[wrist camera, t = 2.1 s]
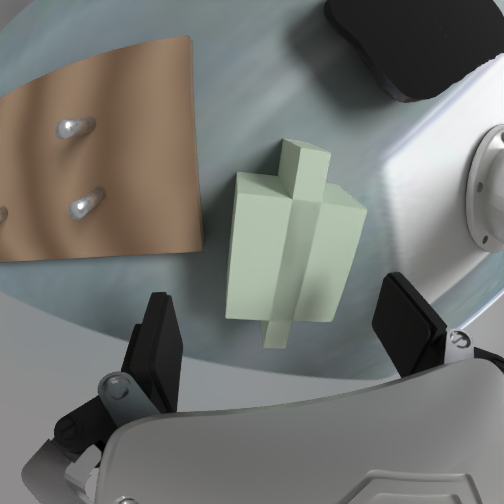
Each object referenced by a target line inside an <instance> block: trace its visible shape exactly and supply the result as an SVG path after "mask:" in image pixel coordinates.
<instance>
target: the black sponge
mask: <svg viewBox="0 0 504 504" xmlns="http://www.w3.org/2000/svg"><path fill="white" fill-rule="evenodd" d="M324 13H325V16H326V18H327V20H328V21H329V22H330V23H331V24H332V25H333V26H334V27H335V29H336V30H337V31H338V33H339V34H340V35H341V36H342V37H344V38H345V39H346V40H347V41H348V42H349V43H350V44H351V45H352V46H353V47H354V48H355V49H356V50H357V51H358V52H359V53H360V54H361V56H362V57H363V59H364V60H365V62H366V64H367V65H368V67H369V68H370V70H371V71H372V73H373V75H374V77H375V79H376V82H377V85H378V86H379V87H380V88H381V89H382V90H384V91H385V92H386V93H387V94H389V95H390V96H391V97H393V98H394V99H395V100H397V101H399V102H404V103H408V102H416V101H420V100H425V99H430V98H433V97H436V96H437V95H439V94H440V93H442V92H443V91H445V90H446V89H447V88H449V87H450V86H451V85H452V84H454V83H456V82H458V81H460V80H462V79H463V78H464V77H465V76H466V75H467V74H469V73H470V72H472V71H474V70H475V69H476V68H477V67H479V66H481V65H482V64H485V62H488V61H489V60H492V59H495V57H496V56H497V55H499V54H500V53H504V16H503V14H502V12H501V11H500V9H499V8H498V6H497V5H496V4H495V2H494V1H493V0H327V1H326V4H325V9H324Z"/></svg>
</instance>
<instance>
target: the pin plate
mask: <svg viewBox="0 0 504 504" xmlns="http://www.w3.org/2000/svg"><path fill="white" fill-rule="evenodd" d="M204 242H205V238H204V229H203V219H202V209H201V198H200V186H199V174H198V161H197V147H196V131H195V112H194V89H193V53H192V40H191V39H190V37H189V35H187V36H179V37H173V38H166V39H161V40H155V41H150V42H145V43H141V44H136V45H132V46H128V47H124V48H120V49H116V50H113V51H109V52H106V53H102V54H99V55H96V56H93V57H90V58H87V59H84V60H81V61H78V62H76V63H73V64H70V65H68V66H65V67H63V68H60V69H58V70H55V71H53V72H51V73H48V74H46V75H44V76H42V77H40V78H37V79H35V80H33V81H31V82H29V83H27V84H25V85H23V86H21V87H19V88H17V89H16V90H14V91H12V92H10V93H8V94H7V95H5V96H3V97H1V98H0V262H13V261H31V260H49V259H68V258H87V257H106V256H125V255H144V254H164V253H184V252H203V247H204Z"/></svg>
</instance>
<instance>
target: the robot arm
mask: <svg viewBox="0 0 504 504" xmlns="http://www.w3.org/2000/svg"><path fill="white" fill-rule="evenodd" d="M466 217H467V225H468V228H469V231H470V234H471V236H472V238H473V240H474V241H475V242H476V243H477V244H478V245H479V246H480V247H481V248H483V249H484V250H485V251H487V252H491V253H494V252H499V251H502V250H504V124H501V125H498V126H496V127H494V128H493V129H491V130H490V131H489V132H488V133H487V135H486V136H485V137H484V138H483V140H482V142H481V144H480V145H479V147H478V149H477V152H476V154H475V156H474V159H473V162H472V166H471V169H470V173H469V178H468V183H467V192H466ZM372 327H373V330H374V331H375V333H376V335H377V336H378V338H379V340H380V341H381V343H382V345H383V346H384V348H385V350H386V352H387V353H388V355H389V357H390V358H391V360H392V362H393V364H394V366H395V367H396V369H397V371H398V373H399V374H400V376H401V378H400V379H397V380H394V381H390V382H387V383H383V384H380V385H376V386H372V387H368V388H364V389H361V390H356V391H352V392H348V393H343V394H338V395H334V396H329V397H324V398H318V399H313V400H307V401H301V402H294V403H288V404H281V405H273V406H264V407H255V408H243V409H231V410H216V411H196V412H195V411H194V412H177V402H178V391H179V380H180V370H181V361H182V352H183V343H182V338H181V335H180V331H179V327H178V323H177V319H176V315H175V310H174V306H173V302H172V298H171V295H167V294H166V292H153V293H152V294H151V297H150V300H149V303H148V306H147V309H146V312H145V315H144V319H143V322H142V324H136V325H135V327H134V329H133V332H132V335H131V339H130V342H129V345H128V348H127V351H126V355H125V358H124V362H123V365H122V368H121V372H113V373H110V374H108V375H106V376H105V377H103V379H102V380H101V381H100V383H99V385H98V394H99V395H98V396H96V397H95V398H93V399H92V400H90V401H88V402H87V403H85V404H84V405H82V406H80V407H79V408H77V409H76V410H74V411H72V412H70V413H69V414H67V415H66V416H64V417H62V418H61V419H60V420H59V421H58V422H57V423H56V425H55V429H54V436H55V437H54V438H53V439H52V440H50V439H48V440H47V441H46V442H45V443H44V444H43V445H42V447H41V448H40V449H39V450H38V451H37V452H36V453H35V454H34V456H33V457H32V458H31V459H30V460H29V461H28V462H27V463H26V464H25V466H24V467H23V469H22V473H21V476H22V481H23V483H24V484H25V486H26V487H27V488H28V489H29V490H30V492H31V493H32V494H33V495H34V496H35V498H36V499H37V500H38V501H39V502H40V503H41V504H504V358H502V357H501V356H499V355H496V354H493V353H490V352H488V351H485V350H482V349H479V348H476V347H474V342H473V339H472V337H471V336H470V335H469V334H468V333H467V332H466V331H464V330H462V329H457V328H455V329H451V330H449V331H448V333H447V331H446V328H447V325H446V324H445V322H444V321H443V320H442V319H441V318H440V316H439V315H438V314H437V313H436V312H435V311H434V309H433V308H432V307H431V306H430V305H429V304H428V302H427V301H426V300H425V299H424V298H423V297H422V296H421V294H420V293H419V292H418V291H417V290H416V289H415V288H414V287H413V286H412V284H411V283H410V282H409V281H408V280H407V279H406V278H405V277H404V276H403V275H402V274H401V273H400V272H394V273H388V274H387V276H386V277H385V278H384V279H383V283H382V287H381V291H380V295H379V299H378V302H377V306H376V310H375V313H374V317H373V320H372ZM176 412H177V413H176ZM99 467H100V468H99ZM93 468H99V473H98V479H97V486H96V494H95V503H94V502H93V501H92V500H90V498H89V497H88V496H87V495H86V492H85V484H86V482H87V480H88V478H89V477H90V476H91V475H90V474H89V473H90V472H91V471H92V470H93ZM134 500H136V501H134Z"/></svg>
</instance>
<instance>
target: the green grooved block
mask: <svg viewBox="0 0 504 504" xmlns="http://www.w3.org/2000/svg"><path fill="white" fill-rule="evenodd" d="M330 156H331V153H330V152H328V151H326V150H323V149H321V148H319V147H316V146H314V145H312V144H309V143H307V142H303V141H297V140H291V139H284V138H283V143H282V150H281V156H280V163H279V170H278V176H273V175H264V174H255V173H245V172H237V176H236V186H235V195H234V205H233V215H232V225H231V235H230V246H229V256H228V267H227V287H226V318H229V319H246V320H260V326H261V335H262V344H263V349H285V346H286V343H287V339H288V336H289V332H290V329H291V325H292V322H293V321H294V322H332V320H333V317H334V315H335V312H336V309H337V307H338V304H339V301H340V298H341V295H342V292H343V289H344V286H345V284H346V281H347V278H348V274H349V271H350V268H351V265H352V262H353V259H354V255H355V252H356V249H357V246H358V242H359V239H360V235H361V232H362V228H363V224H364V221H365V217H366V213H367V209H366V208H365V207H364V206H362V205H361V204H360V203H359V202H357V201H356V200H355V199H354V198H353V197H351V196H350V195H349V194H348V193H346V192H345V191H344V190H342V189H341V188H340V187H339V186H337V185H335V184H329V183H325V182H326V177H327V172H328V167H329V161H330Z"/></svg>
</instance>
